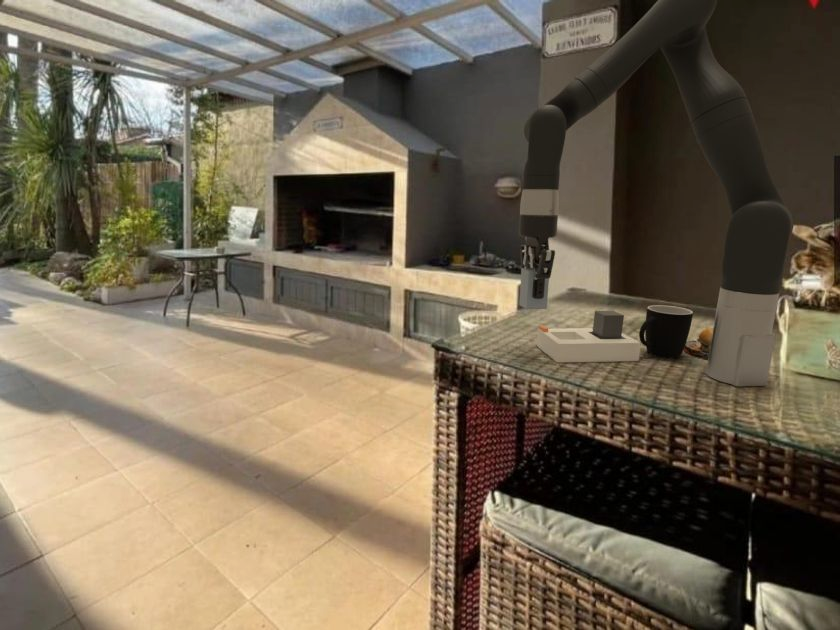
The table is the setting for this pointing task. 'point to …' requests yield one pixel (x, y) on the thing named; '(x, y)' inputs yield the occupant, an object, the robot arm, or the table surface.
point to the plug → (531, 291)
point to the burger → (700, 345)
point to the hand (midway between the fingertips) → (533, 295)
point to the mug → (666, 330)
